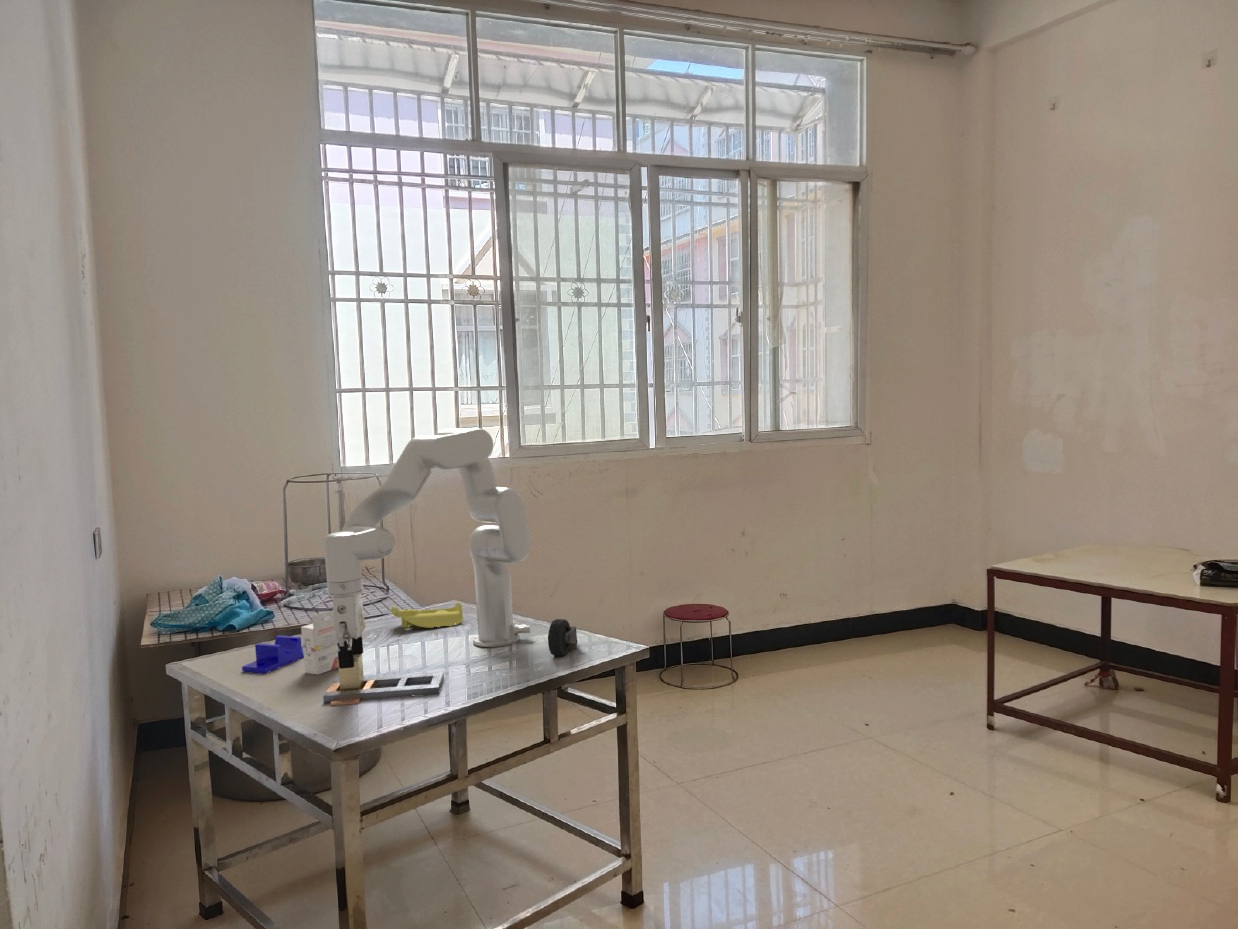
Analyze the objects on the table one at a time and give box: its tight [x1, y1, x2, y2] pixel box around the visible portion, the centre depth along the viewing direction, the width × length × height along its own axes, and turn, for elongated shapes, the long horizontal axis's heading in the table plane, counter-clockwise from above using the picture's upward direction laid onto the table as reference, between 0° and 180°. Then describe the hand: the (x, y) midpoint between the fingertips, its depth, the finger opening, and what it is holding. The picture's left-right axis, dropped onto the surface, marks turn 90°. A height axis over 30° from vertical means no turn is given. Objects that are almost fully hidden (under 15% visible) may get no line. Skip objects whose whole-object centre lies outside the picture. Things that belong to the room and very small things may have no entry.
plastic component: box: [390, 601, 464, 629], centre depth 247 cm, size 20×7×10 cm
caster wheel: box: [547, 618, 578, 657], centre depth 215 cm, size 6×10×15 cm
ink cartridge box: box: [300, 609, 339, 676], centre depth 209 cm, size 9×5×15 cm, turn 148°
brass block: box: [338, 653, 365, 691], centre depth 190 cm, size 4×4×8 cm
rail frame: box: [322, 671, 445, 706], centre depth 190 cm, size 25×13×2 cm, turn 96°
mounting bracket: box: [241, 635, 304, 675], centre depth 217 cm, size 18×7×6 cm, turn 160°
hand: (351, 660), depth 190 cm, fingers open, 9 cm apart
